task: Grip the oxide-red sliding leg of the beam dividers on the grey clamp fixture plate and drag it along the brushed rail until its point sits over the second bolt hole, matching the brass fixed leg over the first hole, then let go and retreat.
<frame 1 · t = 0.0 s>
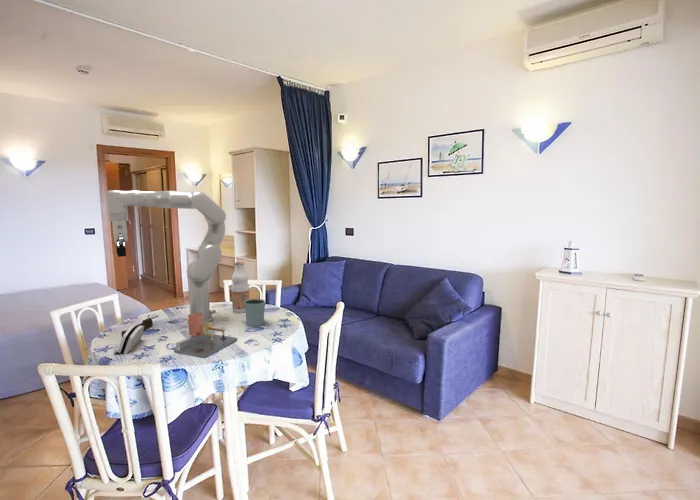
hand: (121, 255, 169), 37 cm above the table, tool pointing down, fingers open, 9 cm apart
fruit juice: (241, 311, 210), on the table
green cup: (255, 324, 187), on the table
hand tool: (138, 332, 176), on the table
sliding leg: (202, 328, 158), point 8 cm above the table, slide at 0.0 cm
grey clamp fixture plate: (206, 346, 158), on the table
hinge: (131, 347, 158), on the table
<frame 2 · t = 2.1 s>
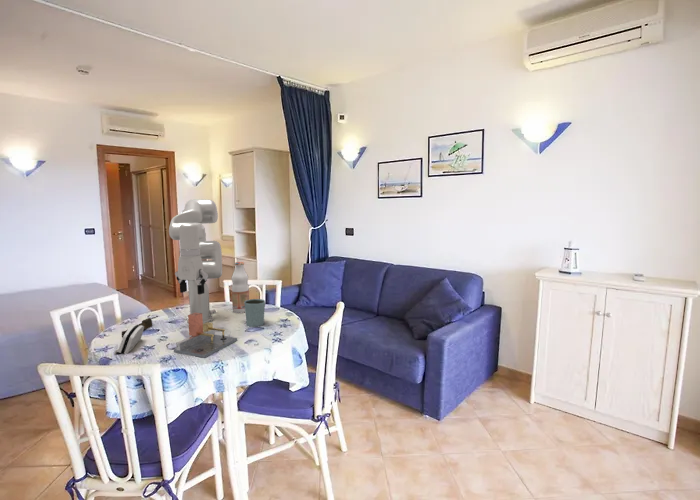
hand: (192, 292, 157), 23 cm above the table, tool pointing down, fingers open, 9 cm apart
nothing on the table moved.
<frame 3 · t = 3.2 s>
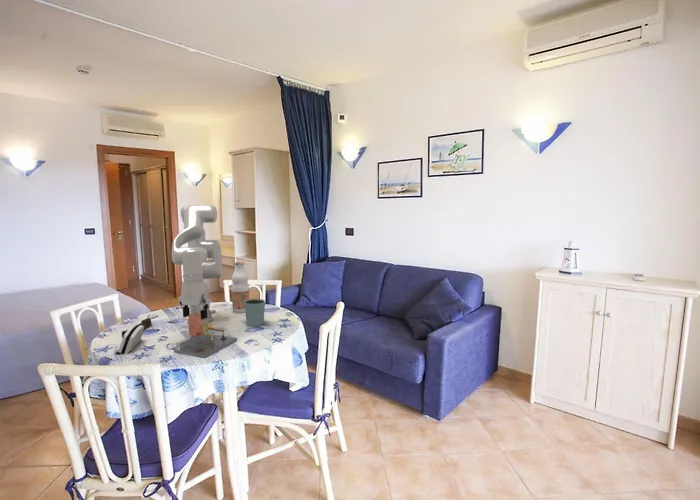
hand: (195, 317, 158), 12 cm above the table, tool pointing down, fingers open, 9 cm apart
nothing on the table moved.
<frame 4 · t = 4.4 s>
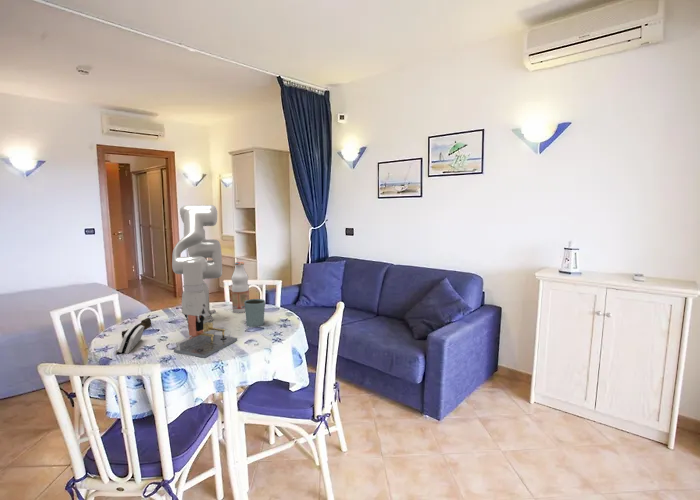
hand: (196, 329, 159), 7 cm above the table, tool pointing down, fingers closed on sliding leg, 4 cm apart
sliding leg: (202, 328, 158), point 8 cm above the table, slide at 0.0 cm, touching gripper
everything else where it was.
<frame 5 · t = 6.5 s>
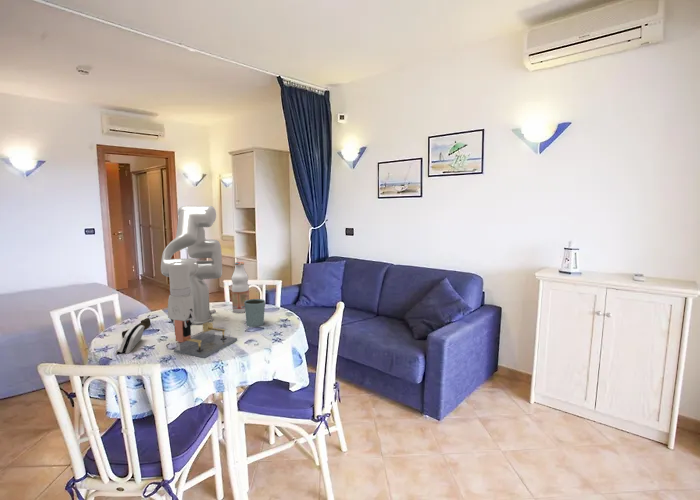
hand: (183, 334, 152), 7 cm above the table, tool pointing down, fingers closed on sliding leg, 4 cm apart
sliding leg: (189, 333, 151), point 8 cm above the table, slide at 7.2 cm, touching gripper
everything else where it was.
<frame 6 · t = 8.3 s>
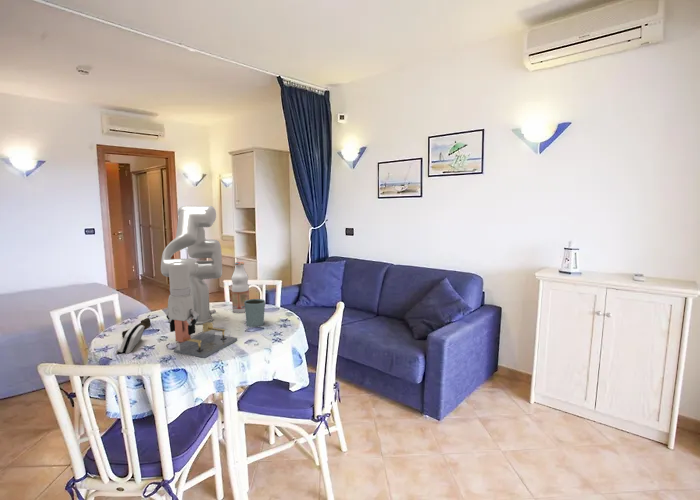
hand: (182, 332, 152), 8 cm above the table, tool pointing down, fingers open, 9 cm apart
sliding leg: (189, 333, 151), point 8 cm above the table, slide at 7.2 cm
everything else where it was.
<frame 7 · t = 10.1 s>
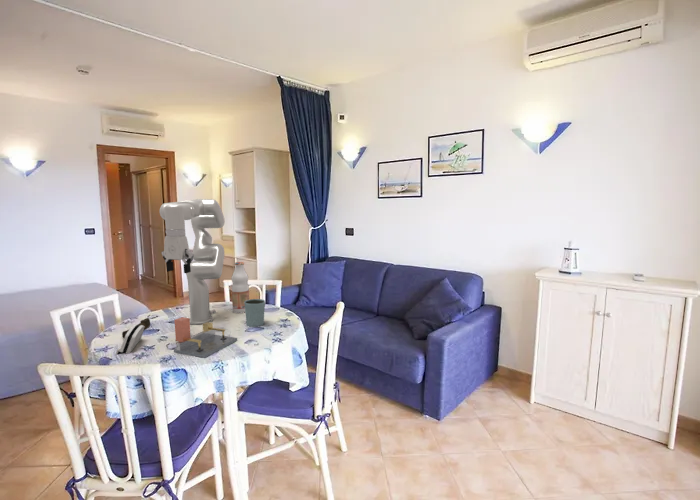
hand: (178, 271, 162), 31 cm above the table, tool pointing down, fingers open, 9 cm apart
nothing on the table moved.
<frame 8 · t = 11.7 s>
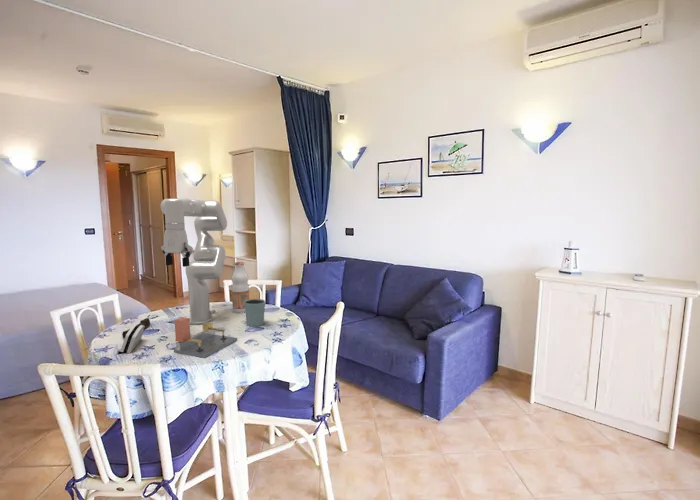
hand: (177, 265, 164), 33 cm above the table, tool pointing down, fingers open, 9 cm apart
nothing on the table moved.
at the end: sliding leg slide at 7.2 cm; the gripper is holding nothing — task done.
